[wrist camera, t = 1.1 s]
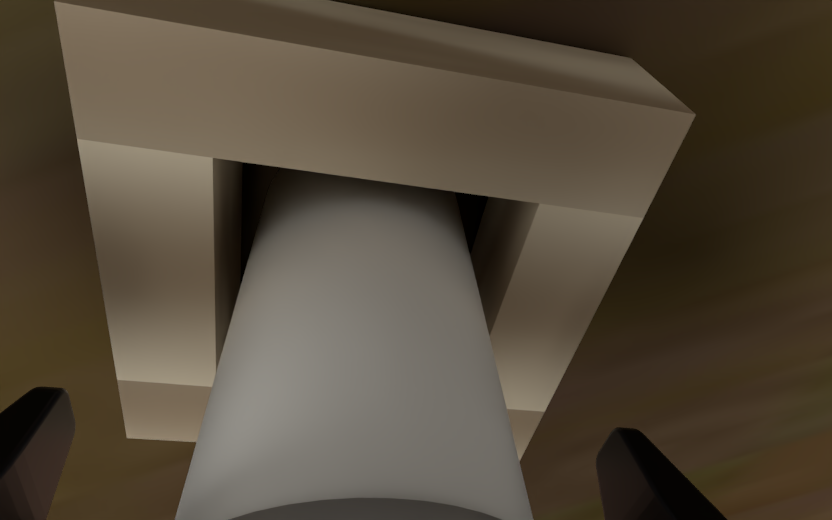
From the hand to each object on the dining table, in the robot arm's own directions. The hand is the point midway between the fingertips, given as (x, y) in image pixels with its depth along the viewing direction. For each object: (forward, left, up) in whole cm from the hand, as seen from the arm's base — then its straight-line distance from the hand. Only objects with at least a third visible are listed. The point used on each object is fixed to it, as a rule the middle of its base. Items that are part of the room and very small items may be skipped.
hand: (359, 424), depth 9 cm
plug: (0, 0, -6) cm, 6 cm away
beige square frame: (0, 0, -6) cm, 6 cm away
